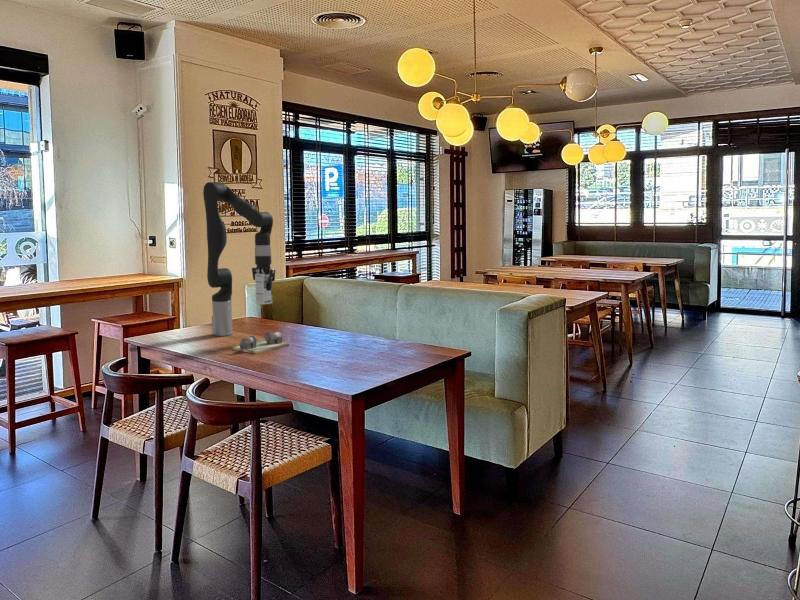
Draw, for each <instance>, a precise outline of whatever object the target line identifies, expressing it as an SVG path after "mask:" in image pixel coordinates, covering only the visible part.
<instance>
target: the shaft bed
mask: <svg viewBox="0 0 800 600" xmlns="http://www.w3.org/2000/svg"><path fill="white" fill-rule="evenodd" d="M286 347H290V342H289V343H288V342H283V337H282V334H281V332H280V331H277V332H272V333H271V332H266V333H264V339H261V340H257V337H256V336H255V335H251V336H249V337H244V338H241V339H240V341H239V344H238V345H233V346H231V350H233V351H239V352H244V353H249V354H254V355H258V354H262V353H266V352H270V351H273V350H278V349H283V348H286Z"/></svg>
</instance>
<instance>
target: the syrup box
mask: <svg viewBox="0 0 800 600" xmlns="http://www.w3.org/2000/svg"><path fill="white" fill-rule="evenodd" d="M266 276H269V274H268V275H266ZM268 280H269V278H268ZM254 281H255V282H254V286H255V303H256V304H258V305H263V306H264V305H271V304H273V303H274V298H273V297H274V296H273V295H274V294H273V282H271V290H270V291H267V289H266V283H267V282H266V278H265V274H262V273H260V274H255V280H254Z"/></svg>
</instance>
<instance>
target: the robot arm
mask: <svg viewBox="0 0 800 600" xmlns="http://www.w3.org/2000/svg"><path fill="white" fill-rule="evenodd" d="M202 190H203V193H202V194H203V201H204V208H205V210H204V211H205V218H206V219H205V220H206V221H205V222H206V241H207V275H206V276H207V283H208V286H209V287H211V288H220V289H219V290H218V291H217V292H215V293H214V294H212V296H211V304H212V315H211V332H212V335H213V336H217V337H222V336H223V337H225V336H231V335H233V333H234V332H233V312H232V295H233V275H232V272H231V270H230V269H229V268H226V267H225V268H223V267H222V268H221V267H220V268H219V259H220V256H221V255H222V253H223V251H224V249H225V247H226V245H227V241H228V240H227V227H226V225H225V223H224V221H223V219H222V217H221V215H220V213H219V210H218V202H219V203H220V202H223V203H226V204H228V205H230V206H231V207H232V208H233V210H234V211H235V212H236V213H237V214H238V215H239V216H241V217H243V218H245V220H247V221H248V223H249V224H250V225H252V226H253V227H256V228H259V229H260V230H259V231H258V232H256V233H255V234H254V235H255V236H254V264H255V265H256V267H251V273H252V274H251V275H252V279H253V281H255V274H260V273H262V274H265V278H266V282H267V283H266V289H267V291H270V290H271V282H272V283H274V282H275V281H276V268H272V267H271V264H272V247H271V233H272V232H273V231H272V230H273V226H274V219H273V218H274V217H273V215H272V214H271V213H270V212H268V211H258V209H257V208H256V206H254V204H251V203H250V202H248V201H246V200H245V199H243V198H242V197H240V196H239V195H238V194H237V193H235V192H234V191H233V190H232V189H231V188H230V187H229V186H227V184H225V183H223V182H219V181H218V182H214V181H212V182H211V181H209V182H208V181H207V182H206V183H205V184H204V186H203V189H202ZM268 274H269V276H266V275H268ZM268 278H269V280H268Z"/></svg>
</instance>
